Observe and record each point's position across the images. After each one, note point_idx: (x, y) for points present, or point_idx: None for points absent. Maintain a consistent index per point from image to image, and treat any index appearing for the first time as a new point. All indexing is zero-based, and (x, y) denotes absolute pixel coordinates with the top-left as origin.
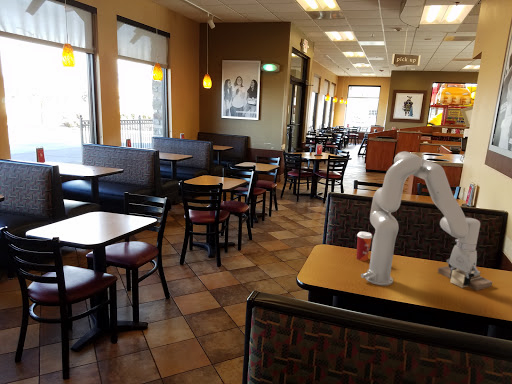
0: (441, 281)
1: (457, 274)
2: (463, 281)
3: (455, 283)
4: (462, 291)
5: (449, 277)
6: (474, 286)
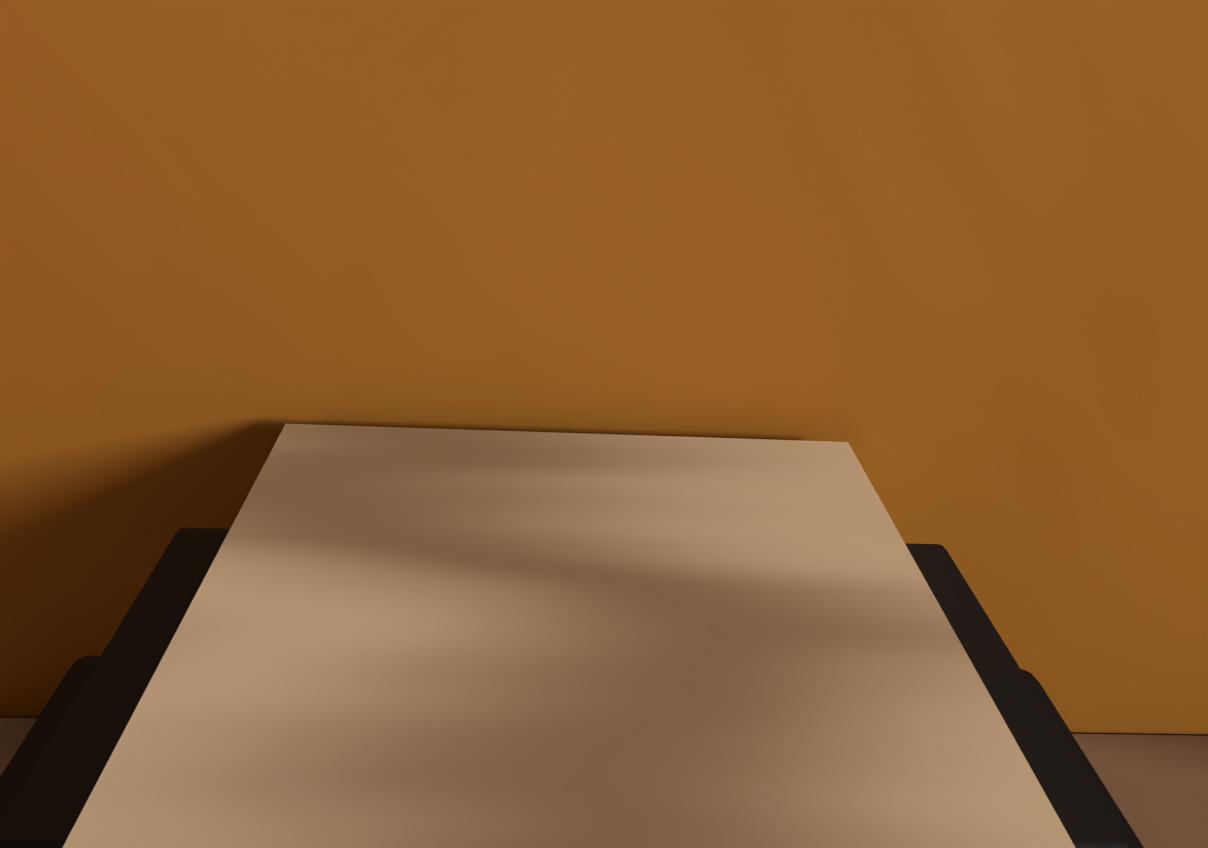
0: (1119, 190)
1: (622, 787)
2: (195, 605)
3: (611, 456)
4: (70, 168)
5: None
6: None
